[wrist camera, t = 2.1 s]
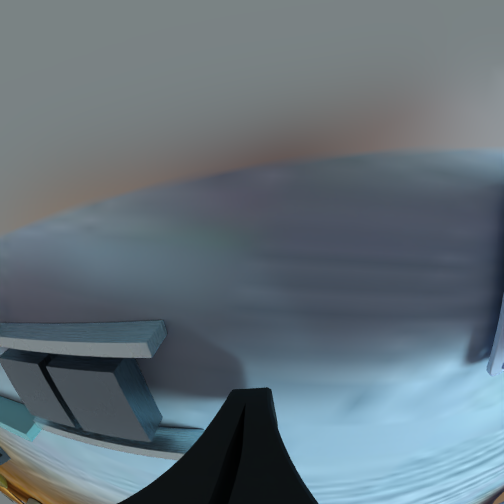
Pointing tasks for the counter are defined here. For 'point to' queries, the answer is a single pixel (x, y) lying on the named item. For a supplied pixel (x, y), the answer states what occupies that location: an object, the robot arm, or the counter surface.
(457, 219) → the counter surface
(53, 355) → the block
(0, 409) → the tray
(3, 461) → the external hard drive
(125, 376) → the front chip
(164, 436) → the slot guide
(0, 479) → the saucer
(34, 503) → the travel mug
